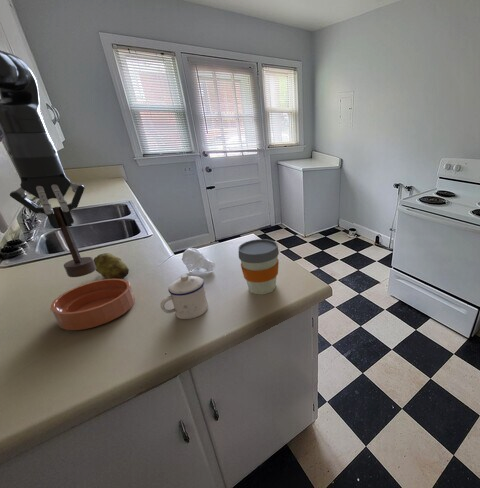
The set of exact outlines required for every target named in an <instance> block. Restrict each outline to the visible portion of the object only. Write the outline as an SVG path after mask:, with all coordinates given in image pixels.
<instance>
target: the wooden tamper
mask: <svg viewBox="0 0 480 488" xmlns="http://www.w3.org/2000/svg"><path fill="white" fill-rule="evenodd" d="M51 208H52V210H53V212H54V214H55V216H56V218H57V221H58V223H59V226H60V228H59V229H60V231H61V233H62V235H63V237H64V241H65V243H66V245H67V248H68V250H69V253H70V255H71V258H72V259H71V260H68V261H66V262H65V263H64V264H63V269H64V270H65V272H66V275H67V277H69V278H79V277H83V276H88V275H90V274H92V273H94V272H95V271H96V266H95V263H94V258H93V257H91V256H83V257H82V256H81V254H80V252H79V249H78V247H77V244H76V241H75V239H74V237H73V234H72V232H71V229H70V226H69V227H68V225H67V223H66V220H65V218H64V215H63V210H62V208H61V206H54V207H51Z"/></svg>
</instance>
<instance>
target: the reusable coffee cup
mask: <svg viewBox="0 0 480 488" xmlns="http://www.w3.org/2000/svg"><path fill="white" fill-rule="evenodd" d="M279 254H280V251H279V247H278V243H277V242H276V241H275V240H272V239H267V238H265V239H264V238H259V239H258V238H257V239H252V240H251V239H250V240H248V241H245V242H243V243H241V244H240V245H239V246H238V259H239V260H240V269H241V272H242V275H243V278H244V279H245V280H246V283H247V287H248V290H249V292H250V293H251V294H253V295H265V294H269V293H271V292H273V291H274V290H275V289H276V288H277V276H278V275H279V264H280V263H279V261H280V260H279V258H278V256H279Z"/></svg>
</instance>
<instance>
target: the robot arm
mask: <svg viewBox="0 0 480 488" xmlns="http://www.w3.org/2000/svg"><path fill="white" fill-rule="evenodd" d="M0 130H1V132H2V135H3V139H4V142H5V143H4V144H5V146H6V148H7V153H8V154H9V156H10V157H11V160H12V162H13V164H14V167H15V168H16V169H15V170H16V171H17V173H18V175H19V178H20V187H18V188H17V189H15V190H12V191H11V192H10V193H9V196H10V198H12V199H13V200H15V201H17V202H18V203H19V204H21V205H22V206H24V207H25V208H27V209H28V210H30V211H31V212H32V213H34V214H43V215H46V217H47V220H48V223H49V224H50V226H51V227H52V228H54V227H55V229H61V228H60V226H59V223H58V221H57V218H56V216H55V214H54V211H53V209H52V208H53V207H52V205H51V202H50V200H51V199H55V200H57V202H58V204H59V207H61V209H62V211H63V215H64V218H65V220H66V223H67V225H68V227H69V228H70V227H72V226H73V225H72V224H74V223H75V220H74V217H73V214H72V210H74V209H76V208H78V206H79V204H80V202H81V198H82V196H83V195H84V191H85V185H83V184H82V183H81V184H80V183H79V184H78V183H75V182H72V181H71V179H70V178H69V177H67V175H66V173H65V170H64V168H63V165H62V162H61V160H60V157H59V154H58V151H57V148H56V146H55V144H54V141H53V140H52V137H51V136H50V134H49V131H48V128H47V126H46V123H45V121H44V118H43V115H42V113H41V101H40V95H39V87H38V82H37V79H36V76H35V74H34V73H33V71H32V68H30V66H29V65H28V64H27V63H26V62H25V61H24V60H23V59H22V58H21V57H19V56H17V55H15V54H13V53H10V52H7V51H4V50H0ZM70 188H71V191H72V192H73V193H74V194H73V197H72V200H71V202H70V203H68V202H67V199H66V197H65V196H66V194H67V192H68V190H69V189H70ZM26 192H27V193H29V194H30V195H32V196H34V197H35V198H36V199H39V200H40V203H41V206H39V205H38V204H36V203H35V202H34V201H32V200H30V199H29V198H27V196H28V194H27V193H26Z"/></svg>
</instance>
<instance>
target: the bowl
mask: <svg viewBox="0 0 480 488" xmlns="http://www.w3.org/2000/svg"><path fill="white" fill-rule="evenodd" d="M135 301H136V298H135V295H134V293H133V289H132V286H131V283H130V282H129V281H128V280H126V279H124V278H122V279H107V278H104V279H99V280H94V281H91V282H86V283H84V284H81V285H79V286H76V287H73V288H71V289H68V290H67V291H65V292H63V293H62V294H60V295H58V296H57V297H56V298H55V299H54V300H53V301H52V303H50V308H49V309H50V311H51V313H52V316H53V317H54V319H55V322H56V324H57V325H58V326H59V327H60V329H63V330H66V331H80V330H87V329H91V328H95V327H98V326H102V325H105V324H107V323H110V322H111V321H113V320H116V319H117V318H119V317H121V316H123V315H124V314H125V313H127V312H128V311H129V310H130V309H132V307H133V306H134V304H135Z"/></svg>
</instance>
